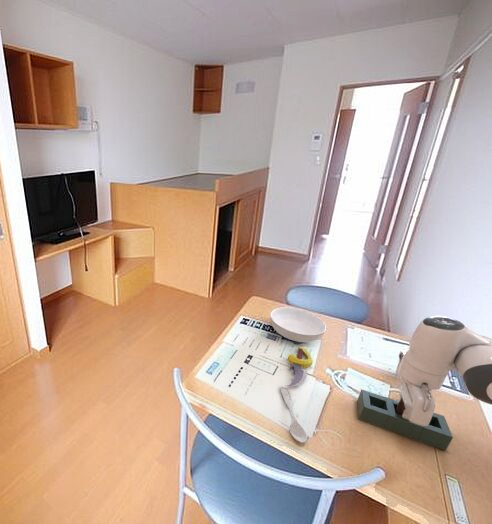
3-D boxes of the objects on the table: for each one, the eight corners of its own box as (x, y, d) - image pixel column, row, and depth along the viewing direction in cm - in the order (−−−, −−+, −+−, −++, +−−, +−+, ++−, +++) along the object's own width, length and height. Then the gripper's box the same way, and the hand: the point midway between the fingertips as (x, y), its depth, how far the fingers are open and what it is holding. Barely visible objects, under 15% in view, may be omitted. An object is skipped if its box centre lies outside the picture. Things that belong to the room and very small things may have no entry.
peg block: (437, 428, 86) (444, 415, 84) (445, 450, 80) (453, 437, 78) (356, 401, 95) (361, 389, 93) (358, 419, 89) (363, 406, 87)
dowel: (404, 419, 88) (416, 393, 84) (406, 428, 85) (419, 401, 81) (390, 415, 89) (402, 389, 85) (392, 423, 87) (404, 396, 83)
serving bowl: (327, 354, 116) (332, 339, 113) (269, 343, 122) (272, 328, 119) (316, 324, 134) (320, 311, 131) (266, 316, 140) (268, 303, 137)
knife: (304, 397, 96) (313, 354, 116) (306, 391, 95) (315, 348, 114) (278, 386, 100) (291, 346, 119) (280, 380, 99) (292, 341, 118)
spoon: (292, 445, 81) (293, 440, 81) (276, 387, 100) (277, 383, 99) (309, 448, 80) (310, 443, 80) (289, 389, 99) (290, 385, 99)
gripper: (449, 405, 70) (427, 446, 76) (426, 354, 87) (410, 391, 92) (415, 394, 73) (396, 434, 79) (399, 347, 90) (384, 383, 95)
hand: (403, 410), depth 86 cm, fingers closed on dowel, 3 cm apart
